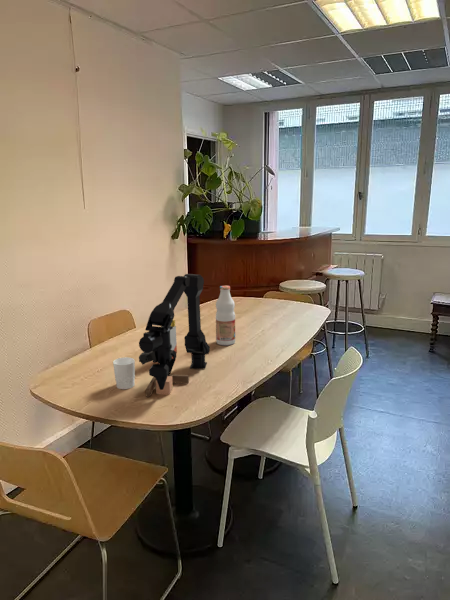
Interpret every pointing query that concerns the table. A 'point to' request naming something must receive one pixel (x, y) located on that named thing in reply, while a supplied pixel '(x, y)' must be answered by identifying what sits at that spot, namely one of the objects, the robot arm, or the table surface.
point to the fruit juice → (225, 318)
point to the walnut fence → (175, 379)
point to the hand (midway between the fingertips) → (164, 384)
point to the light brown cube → (167, 387)
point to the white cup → (124, 372)
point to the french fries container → (173, 337)
